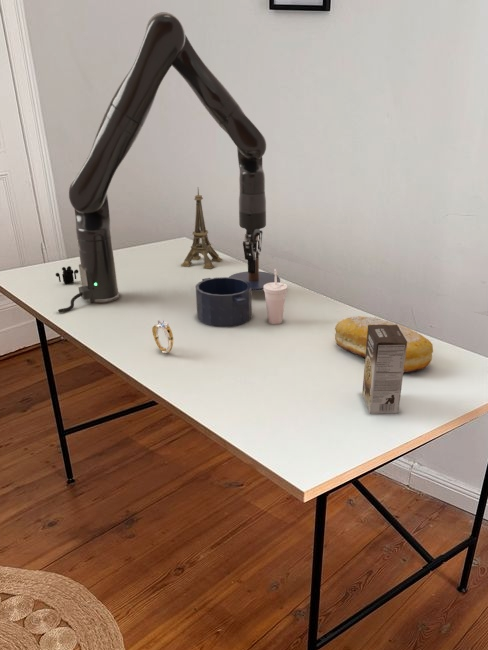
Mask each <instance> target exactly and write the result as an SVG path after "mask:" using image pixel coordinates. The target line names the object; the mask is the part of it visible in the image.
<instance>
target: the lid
mask: <svg viewBox="0 0 488 650" xmlns="http://www.w3.org/2000/svg"><path fill="white" fill-rule="evenodd" d="M259 269H260V258H259V259H258V258H256V272H255V273H248V271H241V272H235V273H233V274H231V275H229V276H228V277H229V278H238V279H242V280H245V281H247V282H249V283H250V285H251V291H254V292H255V291H264V290H263V286H264V285H265V284H267V283H272V282H275V273H271V272H267V271H261V270H259ZM277 282H278V283H281V278H280V277H279V276H278V275H277Z"/></svg>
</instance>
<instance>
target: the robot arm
mask: <svg viewBox="0 0 488 650" xmlns="http://www.w3.org/2000/svg"><path fill="white" fill-rule="evenodd" d="M171 67H173V68H174V70H176V72H177V73H178V74H179V75H180V76H181V77H182V78H183V79H184V81H185V82H186V83H187V85H188V87H190V89H191V91H192V92H193V93H194V95H195V96H196V98H197V99H198V100H199V102H200V103H201V104H202V106H203V107H204V109H205V111H207V113H208V114H209V116H211V118H213V120H214V121H215V123H216V124H217V125H218V126H219V127H220V129H222V130H223V132H225V133H226V134H227V135H228V136H229V138H230V140H231V141H232V142H233V143H234V145H235V146H236V150H237V151H236V152H237V162H238V168H239V169H238V170H239V171H238V172H239V174H238V175H239V177H238V183H239V184H238V186H239V187H238V188H239V191H238V192H239V194H238V224H239V226H240V228H241V229H244V230H245V234H244V241H242V247H243V253H244V254H243V255H244V259H245V260H246V261H247V272H248V273H255V272H256V258H258V259H259V260H260V257H259V256H260V255H261V252H262V242H263V233H264V232H263V230H262V229H264V228H265V227H266V226H267V198H266V197H267V196H266V176H265V175H266V174H265V171H264V167H263V157H264V155H265V154H266V151H267V140H266V138H265V136H264V135H263V133H262V132H261V131H260V130H259V128H258V127H257V126H256V124H254V123H253V121H251V119H250V118H249V117H248V116H247V115H246V113H245V112H244V111H243V109H242V107H241V106H240V105H239V103H238V102H237V101H236V99H235V98H234V97H233V95H232V94H231V93H230V92H229V90H228V89H227V88H226V87H225V85H224V84H223V83H222V82H221V81H220V80H219V79H218V78H217V76H215V74H214V73H213V72H212V71H211V69H210V68H209V67H208V66H207V65H206V63H205V62H204V61H203V59H202V58H201V57H200V55H199V54H198V53H197V51H196V50H195V48H194V47H193V45H192V43H191V41H190V40H189V38H188V36H187V35H186V32H185V29H184V26H183V25H182V23H181V21H180V19H179V18H178V17H176V16H175V15H173V14H172V13H170V12H166V11H165V12H164V11H162V12H161V11H160V12H157V13H155V14H153V16H151V17H150V19H149V20H148V22H147V24H146V29H145V33H144V36H143V39H142V42H141V45H140V47H139V50H138V53H137V55H136V58H135V60H134V62H133V65H132V66H131V68H130V70H129V71H128V73H127V74H126V75H125V77H124V78H123V80H122V81H121V82H120V84H119V86H118V87H117V89H116V91H115V92H114V94H113V96H112V97H111V99H110V101H109V104H108V106H107V108H106V109H105V112H104V114H103V116H102V119H101V121H100V123H99V126H98V129H97V131H96V133H95V138H94V140H93V143H92V146H91V148H90V151H89V154H88V156H87V158H86V160H85V161H84V163H83V165H82V166H81V168H80V170H79V172H78V173H77V174H76V175H75V176H74V178H73V179H72V181H71V182H70V184H69V186H68V190H67V191H68V200H69V202H70V204H71V206H72V208H73V210H74V216H75V217H74V218H75V227H74V228H75V235H76V241H77V248H78V255H79V261H80V263H79V264H78V271H79V276H80V282H81V286H78V293H77V294H76V295H74V296H73V297H72V298H71V300H70V305H69V306H68V307H64V308H58V309H57V311H58V313H65V312H69V311H71V310H73V308H74V306H75V301H76V300H77V299H78V298H80V297H81V298H82V299H83V300H86V301H87V302H88V303H89V304H105V303H111V302H114V301H116V300H118V299H119V298H120V293H119V287H118V279H117V272H116V263H115V256H114V248H113V239H112V232H111V216H110V205H109V197H108V190H109V187H110V186H111V183H112V179H113V178H114V176H115V174H116V171H117V170H118V168H119V167H120V165H121V164H122V162H123V161H124V160H125V158H126V157H127V155H128V153H129V152H130V150H131V149H132V147H133V145H134V144H135V142H136V140H137V138H138V137H139V135H140V133H141V131H142V129H143V127H144V125H145V124H146V121H147V119H148V117H149V114H150V112H151V109H152V106H153V104H154V101H155V99H156V96H157V93H158V91H159V89H160V86H161V84H162V82H163V80H164V79H165V77H166V76H167V74H168V72H169V70H170V69H171Z"/></svg>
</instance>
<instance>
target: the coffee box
mask: <svg viewBox="0 0 488 650" xmlns="http://www.w3.org/2000/svg"><path fill="white" fill-rule="evenodd" d="M406 349H407V341H406V339H405V337H404V336H403V334H402V332H401V331H400V329H399V327H398V326H397V325H368V332H367V344H366V356H365V358H364V368H363V381H362V393H361V395H362V397H363V400H364V402H365V405H366V407H367V410H368V413H369V414H371V415H373V414H375V415H376V414H377V415H378V414H398V413H399V409H400V400H401V393H402V387H403V386H402V385H403V380H404V373H405V372H404V365H405V357H406Z"/></svg>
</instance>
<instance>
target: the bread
mask: <svg viewBox="0 0 488 650" xmlns="http://www.w3.org/2000/svg"><path fill="white" fill-rule="evenodd" d="M368 325H397V326H398V327H399V329H400V331H401V332H402V334H403V336H404V337H405V339H406V341H407V349H406V357H405V365H404V372H403V373H407V372H417V371H418V372H419V371H420V370H424V369H425V368H426V367H427V366H428V365H430V363H431V362H432V360H433V353H434V346H433V345H434V344H433V343H432V341H430V340H429V339H428V338H427V337H425V336H424V335H422V334H420V333H418V332H417V331H414V330H412V329H411V328H408V327H406V326H404V325H401V324H399V323H395V322H393V321H389V320H384V319H381V318H378V317H377V316H374V317H373V316H369V317H368V316H359V315H356V316H350V317H349V316H348V317H346V318H343V319H341V320H339V321H338V322H337V323H336V325H335V327H334V331H335V332H334V340H335V343H336V344H337V346H338V347H340V348H341V349H343V350H345V351H346V352H350V353H352V354H355V355H357V356H359V357H361V358H363V359H365V356H366V344H367V332H368Z"/></svg>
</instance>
